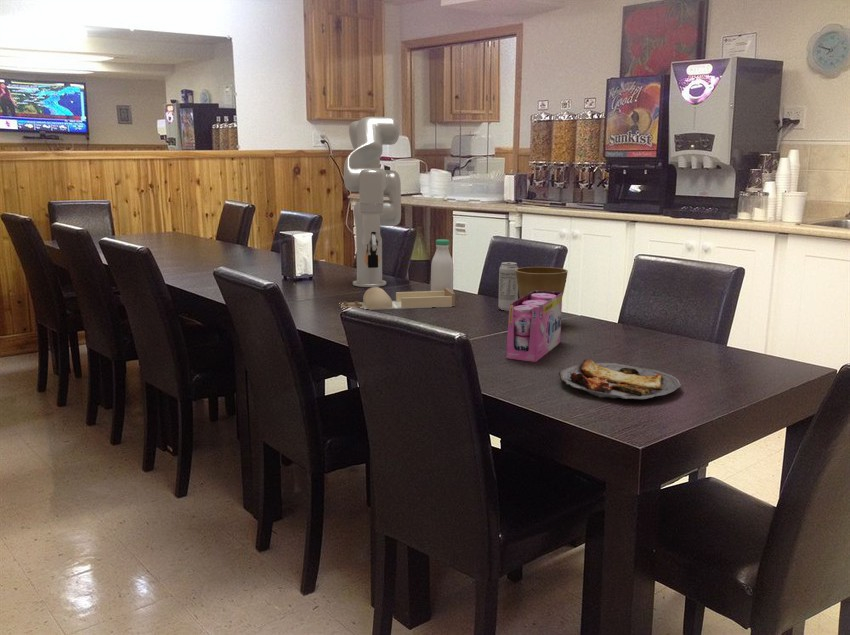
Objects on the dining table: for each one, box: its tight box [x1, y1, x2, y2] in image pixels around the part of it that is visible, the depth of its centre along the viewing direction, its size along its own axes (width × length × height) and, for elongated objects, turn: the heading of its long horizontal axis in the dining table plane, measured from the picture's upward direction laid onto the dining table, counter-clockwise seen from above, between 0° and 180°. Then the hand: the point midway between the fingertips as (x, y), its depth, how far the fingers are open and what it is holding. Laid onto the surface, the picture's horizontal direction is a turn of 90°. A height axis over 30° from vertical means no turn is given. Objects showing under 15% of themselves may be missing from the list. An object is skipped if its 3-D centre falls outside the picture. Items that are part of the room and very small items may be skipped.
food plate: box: [558, 358, 682, 400], centre depth 165 cm, size 25×23×4 cm
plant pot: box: [516, 266, 568, 299], centre depth 224 cm, size 15×15×16 cm
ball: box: [364, 252, 380, 266], centre depth 246 cm, size 5×5×5 cm
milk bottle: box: [430, 238, 454, 292], centre depth 263 cm, size 8×8×20 cm
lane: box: [338, 287, 456, 311], centre depth 251 cm, size 11×36×8 cm, turn 102°
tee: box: [340, 300, 362, 308], centre depth 248 cm, size 7×7×1 cm
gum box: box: [505, 290, 563, 363], centre depth 193 cm, size 24×8×14 cm, turn 156°
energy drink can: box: [497, 261, 519, 312], centre depth 244 cm, size 6×6×15 cm
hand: (372, 265), depth 247 cm, fingers closed on ball, 4 cm apart
